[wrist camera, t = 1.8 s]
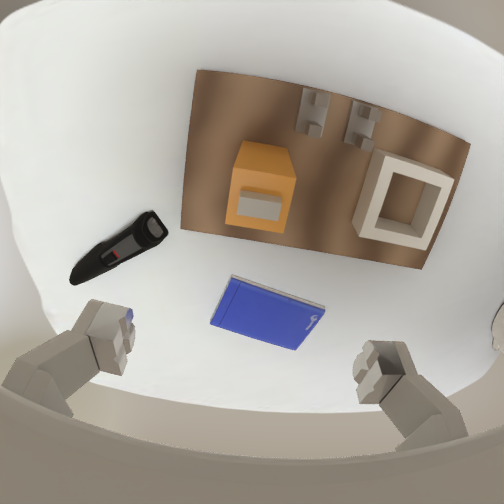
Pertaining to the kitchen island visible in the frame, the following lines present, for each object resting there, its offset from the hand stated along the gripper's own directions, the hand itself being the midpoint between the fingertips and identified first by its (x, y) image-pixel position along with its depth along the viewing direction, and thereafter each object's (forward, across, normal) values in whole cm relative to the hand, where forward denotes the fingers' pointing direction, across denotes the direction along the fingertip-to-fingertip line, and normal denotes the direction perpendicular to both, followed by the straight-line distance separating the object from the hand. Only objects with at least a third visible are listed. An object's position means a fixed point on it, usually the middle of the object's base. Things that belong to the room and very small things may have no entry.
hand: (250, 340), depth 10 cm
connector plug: (+21, 0, 0) cm, 21 cm away
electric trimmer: (+22, +15, +13) cm, 30 cm away
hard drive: (+22, -4, +19) cm, 30 cm away
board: (+22, -7, 0) cm, 23 cm away
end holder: (+20, -14, 0) cm, 25 cm away
